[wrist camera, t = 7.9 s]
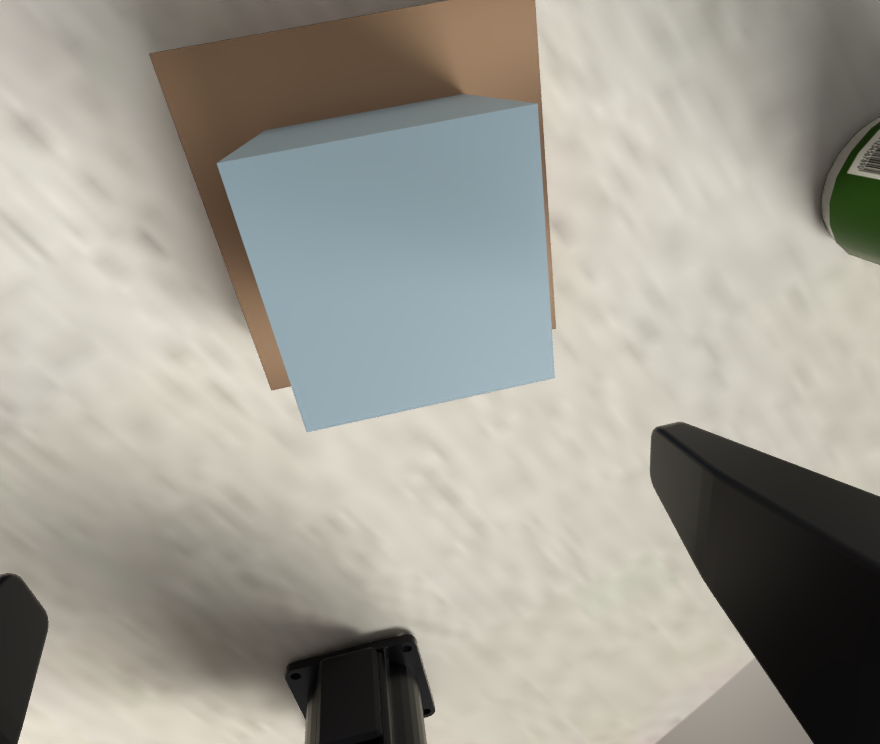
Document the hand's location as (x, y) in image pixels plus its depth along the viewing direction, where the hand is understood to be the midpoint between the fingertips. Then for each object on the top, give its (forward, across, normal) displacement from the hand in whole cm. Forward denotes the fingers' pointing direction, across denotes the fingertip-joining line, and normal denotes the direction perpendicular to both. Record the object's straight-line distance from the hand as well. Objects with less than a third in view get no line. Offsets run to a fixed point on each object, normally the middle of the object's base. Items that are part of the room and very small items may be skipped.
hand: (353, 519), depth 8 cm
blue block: (+9, -2, -2) cm, 9 cm away
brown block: (+12, -2, -2) cm, 12 cm away
